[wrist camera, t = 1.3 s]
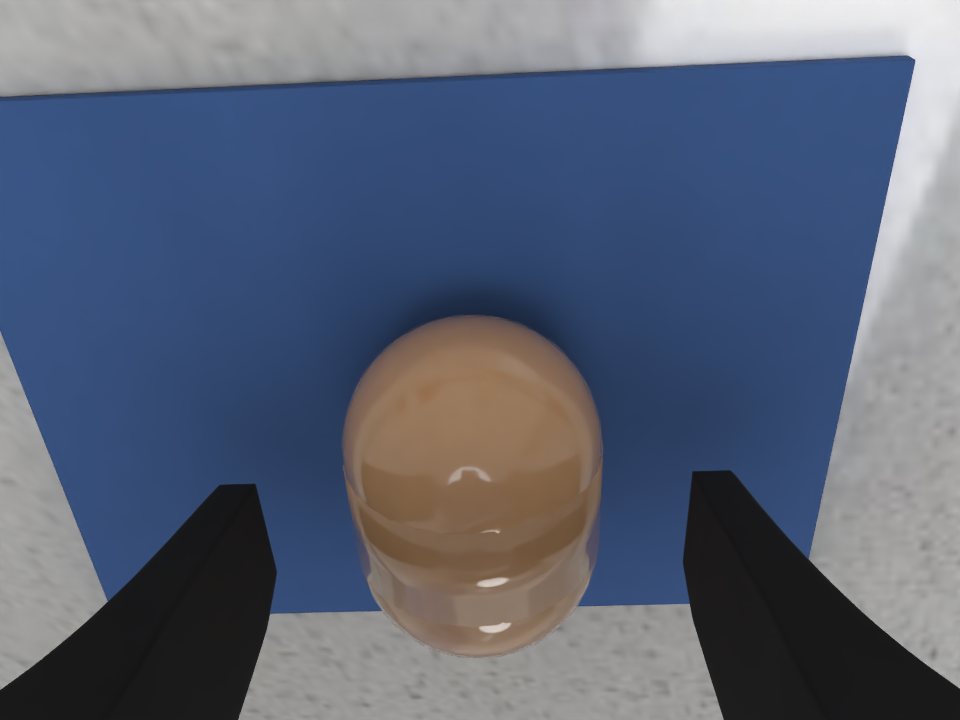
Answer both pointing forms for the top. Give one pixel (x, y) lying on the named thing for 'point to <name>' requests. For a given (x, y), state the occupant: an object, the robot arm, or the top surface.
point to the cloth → (441, 286)
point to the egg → (474, 484)
